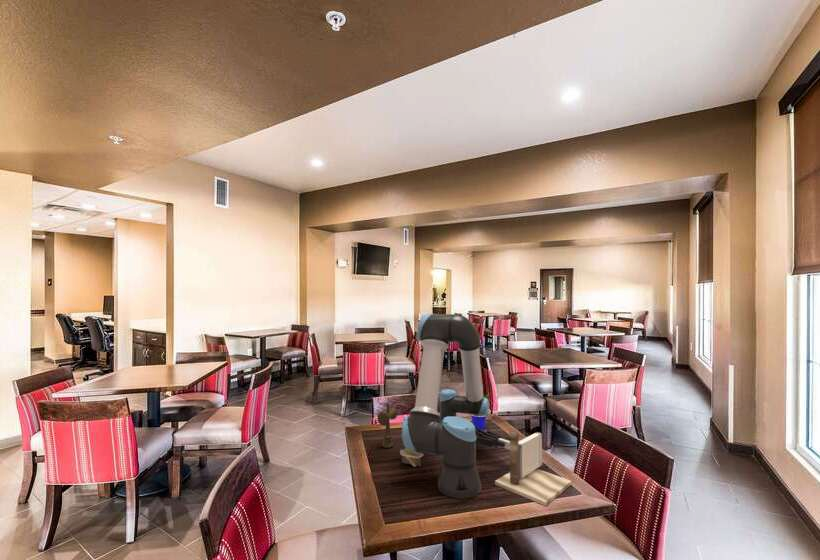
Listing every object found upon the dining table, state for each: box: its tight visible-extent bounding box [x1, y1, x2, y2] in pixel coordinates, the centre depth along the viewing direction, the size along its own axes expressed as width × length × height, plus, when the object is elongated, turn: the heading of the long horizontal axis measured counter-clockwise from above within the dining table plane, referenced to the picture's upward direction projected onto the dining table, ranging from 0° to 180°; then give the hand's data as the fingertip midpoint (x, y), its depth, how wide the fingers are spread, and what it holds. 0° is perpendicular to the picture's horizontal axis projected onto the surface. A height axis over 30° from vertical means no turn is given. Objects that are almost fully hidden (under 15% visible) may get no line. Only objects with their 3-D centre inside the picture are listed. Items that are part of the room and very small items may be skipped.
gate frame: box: [494, 430, 573, 507], centre depth 132 cm, size 20×19×19 cm
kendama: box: [376, 401, 398, 449], centre depth 166 cm, size 6×10×20 cm, turn 156°
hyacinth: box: [470, 374, 490, 431], centre depth 190 cm, size 9×10×30 cm
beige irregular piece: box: [399, 448, 424, 468], centre depth 147 cm, size 12×18×7 cm, turn 65°
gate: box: [518, 431, 543, 479], centre depth 138 cm, size 17×2×12 cm, turn 134°
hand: (513, 446), depth 144 cm, fingers closed
